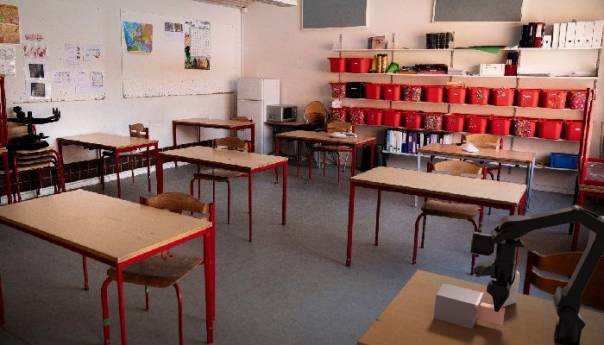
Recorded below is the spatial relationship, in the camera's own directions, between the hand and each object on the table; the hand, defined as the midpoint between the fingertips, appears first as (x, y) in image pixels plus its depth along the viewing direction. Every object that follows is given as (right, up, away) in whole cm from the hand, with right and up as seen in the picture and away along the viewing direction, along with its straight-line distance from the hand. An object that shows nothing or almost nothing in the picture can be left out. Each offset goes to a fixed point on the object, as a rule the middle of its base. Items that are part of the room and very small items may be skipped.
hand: (498, 305), depth 154 cm
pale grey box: (-11, -6, +7) cm, 14 cm away
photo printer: (+9, -4, +18) cm, 21 cm away
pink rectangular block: (-6, -5, +4) cm, 8 cm away
